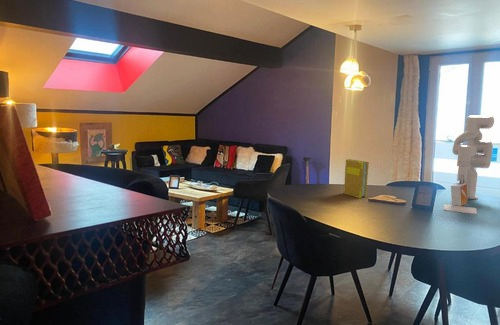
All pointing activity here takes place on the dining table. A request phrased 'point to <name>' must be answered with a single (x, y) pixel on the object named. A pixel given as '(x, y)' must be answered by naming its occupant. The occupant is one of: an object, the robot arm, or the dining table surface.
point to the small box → (459, 194)
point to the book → (356, 178)
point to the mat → (460, 209)
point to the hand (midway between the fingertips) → (460, 191)
